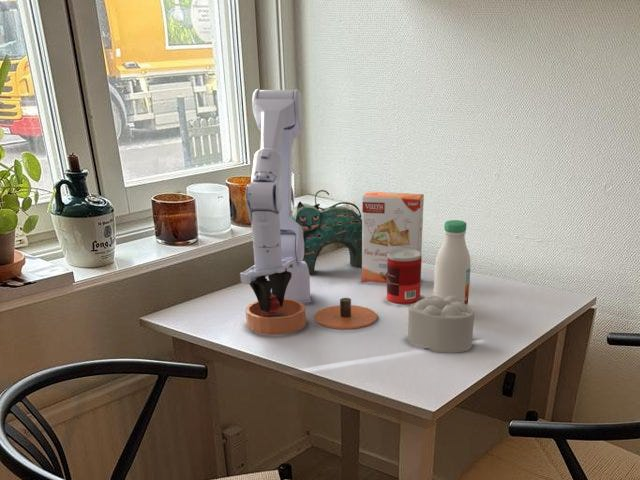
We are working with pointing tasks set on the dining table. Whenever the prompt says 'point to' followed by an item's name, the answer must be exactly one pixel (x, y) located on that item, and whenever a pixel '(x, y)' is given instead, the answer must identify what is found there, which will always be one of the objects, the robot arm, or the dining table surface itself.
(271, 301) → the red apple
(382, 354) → the dining table surface
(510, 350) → the dining table surface
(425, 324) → the lumpy-topped squat cylinder
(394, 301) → the canned food
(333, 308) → the lid
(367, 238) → the cracker box
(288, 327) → the pot
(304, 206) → the ceramic cat
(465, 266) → the milk bottle
